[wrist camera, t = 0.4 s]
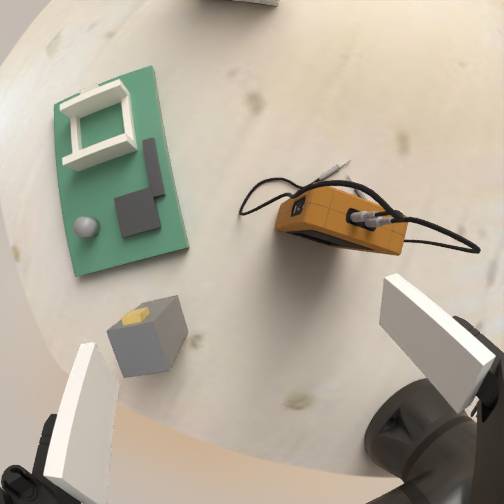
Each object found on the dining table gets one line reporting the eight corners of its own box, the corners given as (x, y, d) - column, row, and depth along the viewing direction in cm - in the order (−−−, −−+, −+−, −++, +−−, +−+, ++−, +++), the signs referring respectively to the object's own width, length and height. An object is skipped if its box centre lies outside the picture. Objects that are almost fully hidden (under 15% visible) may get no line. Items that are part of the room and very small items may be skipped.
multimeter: (385, 173, 31) (520, 124, 11) (366, 257, 31) (508, 283, 11) (263, 129, 30) (306, -1, 10) (236, 218, 30) (246, 186, 10)
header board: (189, 247, 30) (181, 249, 25) (81, 275, 29) (59, 281, 24) (154, 71, 29) (144, 49, 24) (59, 108, 28) (39, 94, 23)
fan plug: (188, 330, 30) (169, 370, 20) (153, 337, 30) (123, 377, 20) (175, 289, 30) (150, 313, 20) (141, 297, 30) (104, 323, 20)
